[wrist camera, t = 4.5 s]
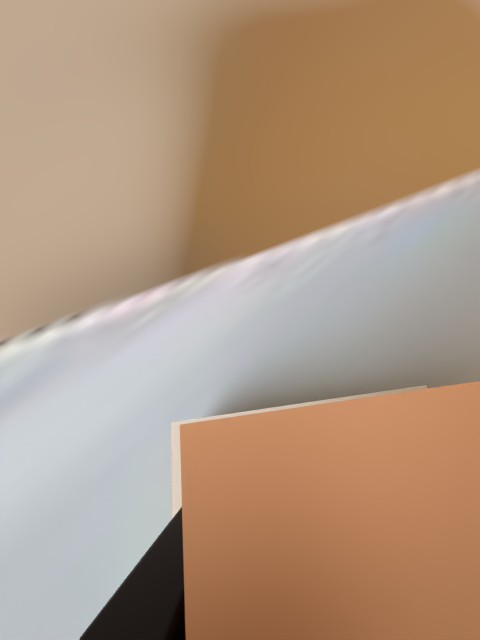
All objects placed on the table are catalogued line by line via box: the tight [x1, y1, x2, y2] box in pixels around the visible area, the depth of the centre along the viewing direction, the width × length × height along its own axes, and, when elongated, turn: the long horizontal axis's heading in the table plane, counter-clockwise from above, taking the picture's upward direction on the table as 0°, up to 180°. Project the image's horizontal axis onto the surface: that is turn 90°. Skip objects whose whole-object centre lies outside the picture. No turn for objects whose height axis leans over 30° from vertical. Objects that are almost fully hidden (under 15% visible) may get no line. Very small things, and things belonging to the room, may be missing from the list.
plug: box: [180, 381, 480, 640], centre depth 8 cm, size 4×4×10 cm
